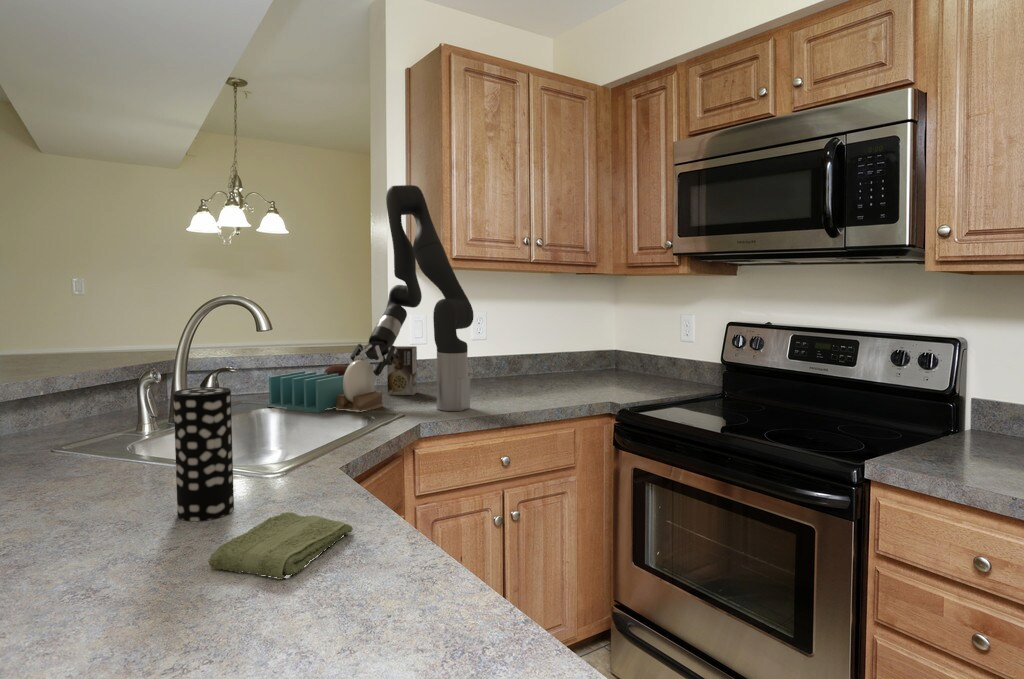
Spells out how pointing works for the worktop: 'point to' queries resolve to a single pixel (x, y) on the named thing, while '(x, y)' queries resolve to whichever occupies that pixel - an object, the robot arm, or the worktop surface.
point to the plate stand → (361, 401)
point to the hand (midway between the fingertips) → (364, 373)
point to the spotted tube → (203, 453)
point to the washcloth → (279, 545)
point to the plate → (358, 379)
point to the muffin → (336, 369)
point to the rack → (305, 391)
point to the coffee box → (403, 372)
